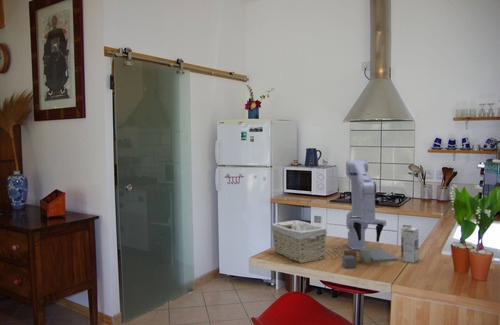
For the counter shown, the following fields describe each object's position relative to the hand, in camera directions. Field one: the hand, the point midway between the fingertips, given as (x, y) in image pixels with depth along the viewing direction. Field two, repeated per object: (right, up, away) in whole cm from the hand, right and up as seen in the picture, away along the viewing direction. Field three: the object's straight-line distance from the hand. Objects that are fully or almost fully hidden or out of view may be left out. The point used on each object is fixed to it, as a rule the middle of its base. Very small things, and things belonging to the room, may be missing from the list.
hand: (368, 240), depth 171 cm
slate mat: (+7, -9, +11) cm, 16 cm away
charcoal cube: (-9, -10, -4) cm, 15 cm away
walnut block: (-7, -10, +3) cm, 13 cm away
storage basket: (-28, -10, +15) cm, 34 cm away
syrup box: (+19, -9, +2) cm, 21 cm away
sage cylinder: (0, -10, +3) cm, 10 cm away
